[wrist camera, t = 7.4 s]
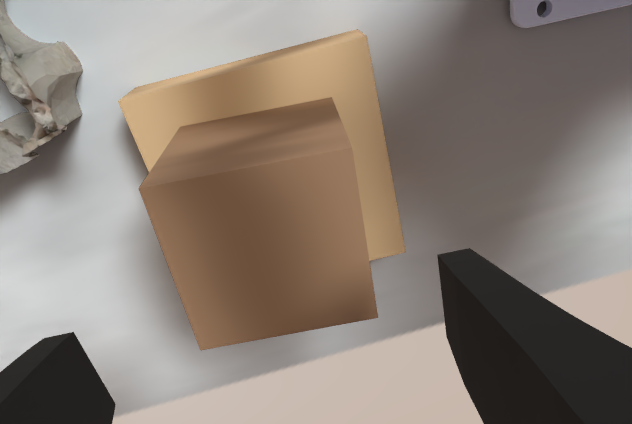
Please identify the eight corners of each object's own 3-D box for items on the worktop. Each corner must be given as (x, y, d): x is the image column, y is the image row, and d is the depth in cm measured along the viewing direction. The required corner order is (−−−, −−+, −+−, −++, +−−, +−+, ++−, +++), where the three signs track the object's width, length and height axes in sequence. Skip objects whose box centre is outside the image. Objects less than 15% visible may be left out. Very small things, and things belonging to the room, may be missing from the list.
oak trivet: (355, 27, 17) (366, 36, 15) (392, 221, 20) (405, 252, 18) (139, 84, 17) (117, 101, 15) (212, 264, 21) (204, 299, 19)
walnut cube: (331, 96, 15) (351, 147, 11) (353, 230, 18) (378, 317, 13) (180, 126, 15) (138, 188, 11) (221, 255, 18) (200, 350, 13)
